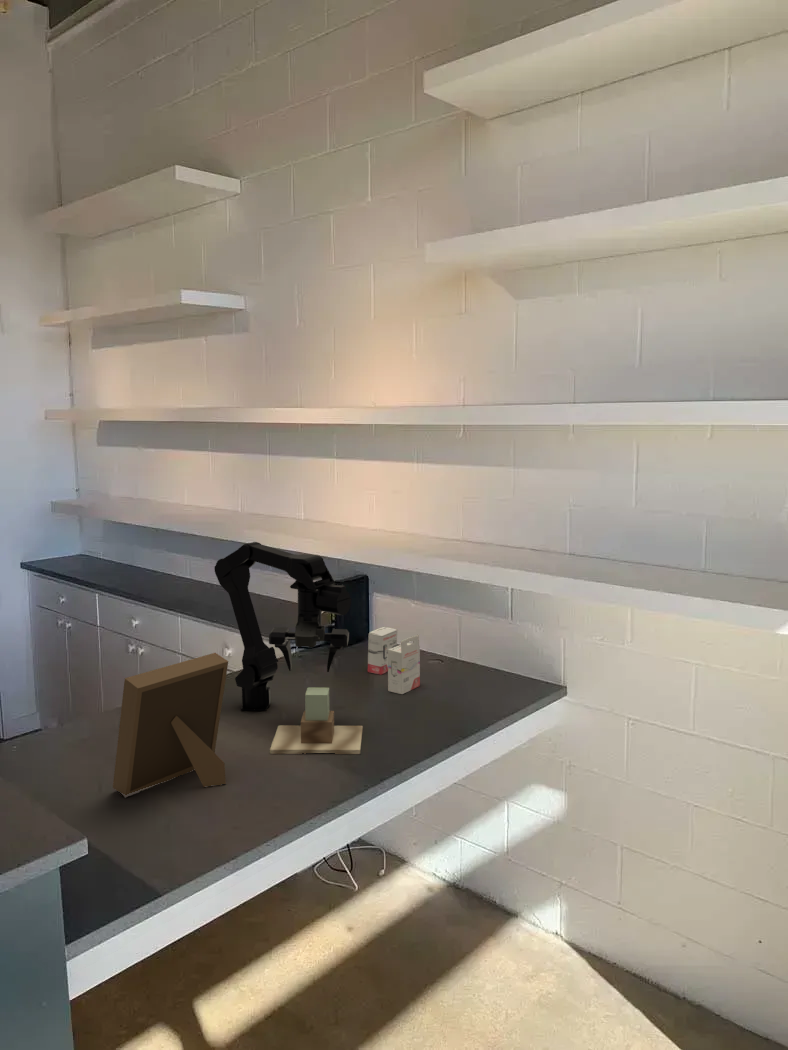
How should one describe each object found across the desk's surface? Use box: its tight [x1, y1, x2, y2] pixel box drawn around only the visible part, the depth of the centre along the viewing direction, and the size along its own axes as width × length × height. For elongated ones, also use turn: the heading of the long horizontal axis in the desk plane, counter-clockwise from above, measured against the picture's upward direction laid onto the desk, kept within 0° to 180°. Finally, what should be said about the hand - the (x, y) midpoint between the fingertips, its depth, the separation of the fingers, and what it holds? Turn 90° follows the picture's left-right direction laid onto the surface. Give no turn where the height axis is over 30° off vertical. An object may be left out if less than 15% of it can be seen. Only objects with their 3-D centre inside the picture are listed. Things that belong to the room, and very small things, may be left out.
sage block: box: [304, 686, 330, 721], centre depth 194 cm, size 5×5×6 cm
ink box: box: [367, 626, 398, 676], centre depth 246 cm, size 9×5×12 cm, turn 147°
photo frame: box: [112, 652, 229, 795], centre depth 171 cm, size 15×22×25 cm
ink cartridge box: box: [387, 634, 421, 695], centre depth 229 cm, size 9×5×15 cm, turn 143°
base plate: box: [269, 710, 364, 755], centre depth 195 cm, size 20×14×6 cm
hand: (309, 670), depth 206 cm, fingers open, 9 cm apart
